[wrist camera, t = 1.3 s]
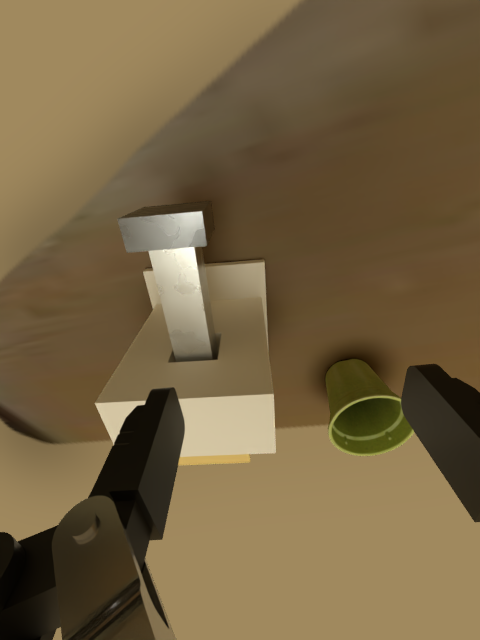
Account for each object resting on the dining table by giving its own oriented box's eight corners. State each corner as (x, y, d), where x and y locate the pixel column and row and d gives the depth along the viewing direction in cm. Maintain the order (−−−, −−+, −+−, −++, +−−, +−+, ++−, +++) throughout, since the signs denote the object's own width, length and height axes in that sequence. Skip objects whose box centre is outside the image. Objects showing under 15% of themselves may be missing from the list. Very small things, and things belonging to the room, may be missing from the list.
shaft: (144, 207, 21) (117, 218, 16) (211, 200, 20) (202, 211, 16) (196, 428, 32) (188, 469, 28) (239, 426, 32) (238, 467, 28)
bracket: (145, 268, 31) (64, 355, 17) (263, 259, 30) (280, 342, 16) (171, 368, 38) (128, 489, 24) (268, 362, 37) (282, 483, 23)
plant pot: (298, 387, 39) (311, 441, 31) (339, 336, 35) (365, 384, 27) (353, 409, 41) (378, 465, 33) (398, 363, 37) (437, 415, 29)
